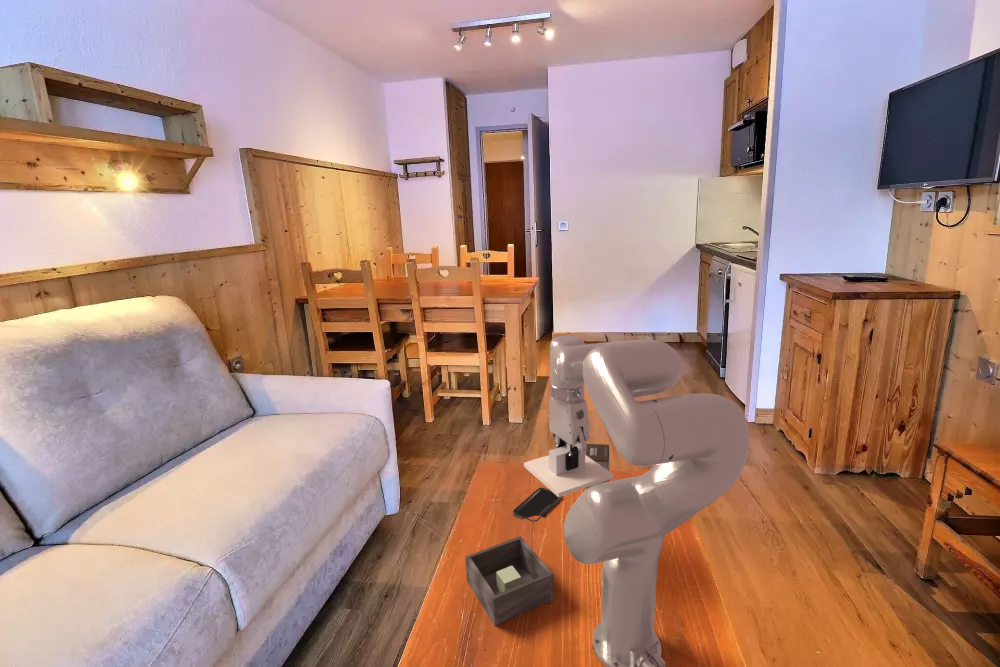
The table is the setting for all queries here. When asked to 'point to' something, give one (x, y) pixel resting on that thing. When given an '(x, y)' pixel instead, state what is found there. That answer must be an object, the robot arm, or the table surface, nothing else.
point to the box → (519, 598)
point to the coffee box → (598, 456)
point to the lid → (566, 472)
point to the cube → (507, 578)
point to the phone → (537, 504)
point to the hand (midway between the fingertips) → (567, 464)
